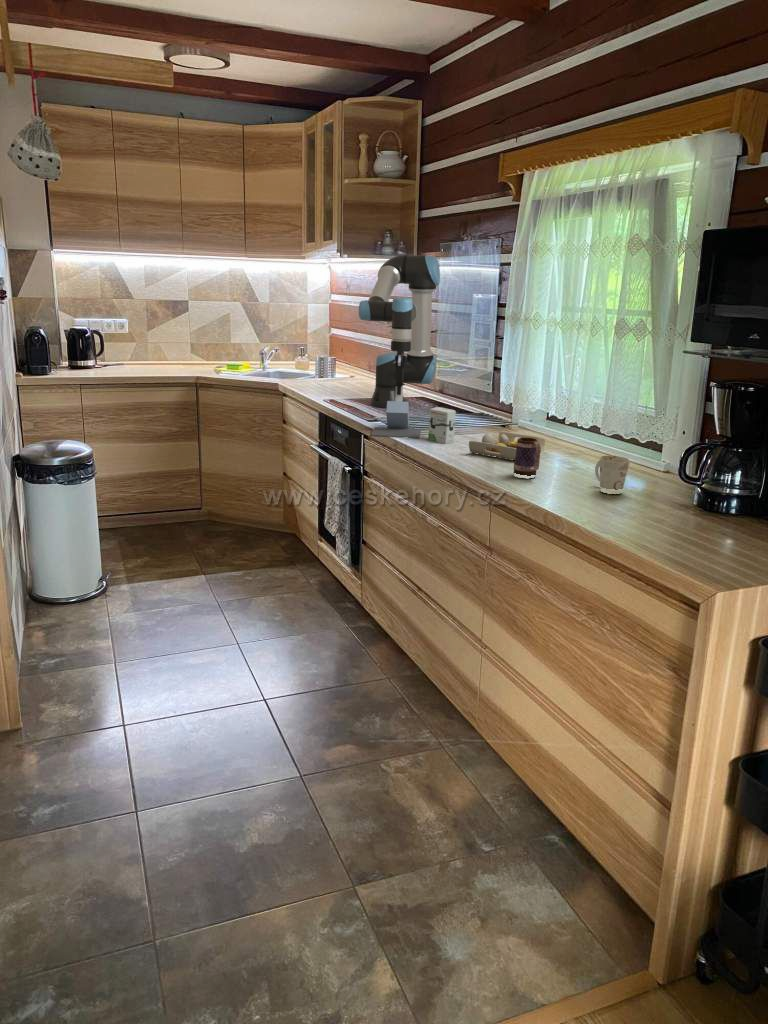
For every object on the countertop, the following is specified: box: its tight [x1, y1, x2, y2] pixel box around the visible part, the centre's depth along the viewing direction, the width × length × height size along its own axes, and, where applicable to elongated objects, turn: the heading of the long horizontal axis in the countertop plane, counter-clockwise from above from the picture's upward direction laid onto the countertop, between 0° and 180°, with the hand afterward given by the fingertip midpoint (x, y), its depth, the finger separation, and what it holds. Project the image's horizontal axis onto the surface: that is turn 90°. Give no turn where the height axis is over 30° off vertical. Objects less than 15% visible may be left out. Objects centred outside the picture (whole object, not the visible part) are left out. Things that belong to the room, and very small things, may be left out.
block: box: [385, 401, 410, 429], centre depth 302 cm, size 5×8×12 cm
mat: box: [370, 426, 422, 439], centre depth 298 cm, size 14×18×1 cm
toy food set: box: [468, 430, 547, 461], centre depth 273 cm, size 25×18×8 cm
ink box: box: [427, 406, 457, 445], centre depth 285 cm, size 9×5×12 cm, turn 47°
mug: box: [594, 455, 631, 490], centre depth 229 cm, size 8×13×10 cm, turn 24°
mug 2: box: [513, 437, 542, 476], centre depth 240 cm, size 10×7×12 cm
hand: (398, 402), depth 303 cm, fingers closed
